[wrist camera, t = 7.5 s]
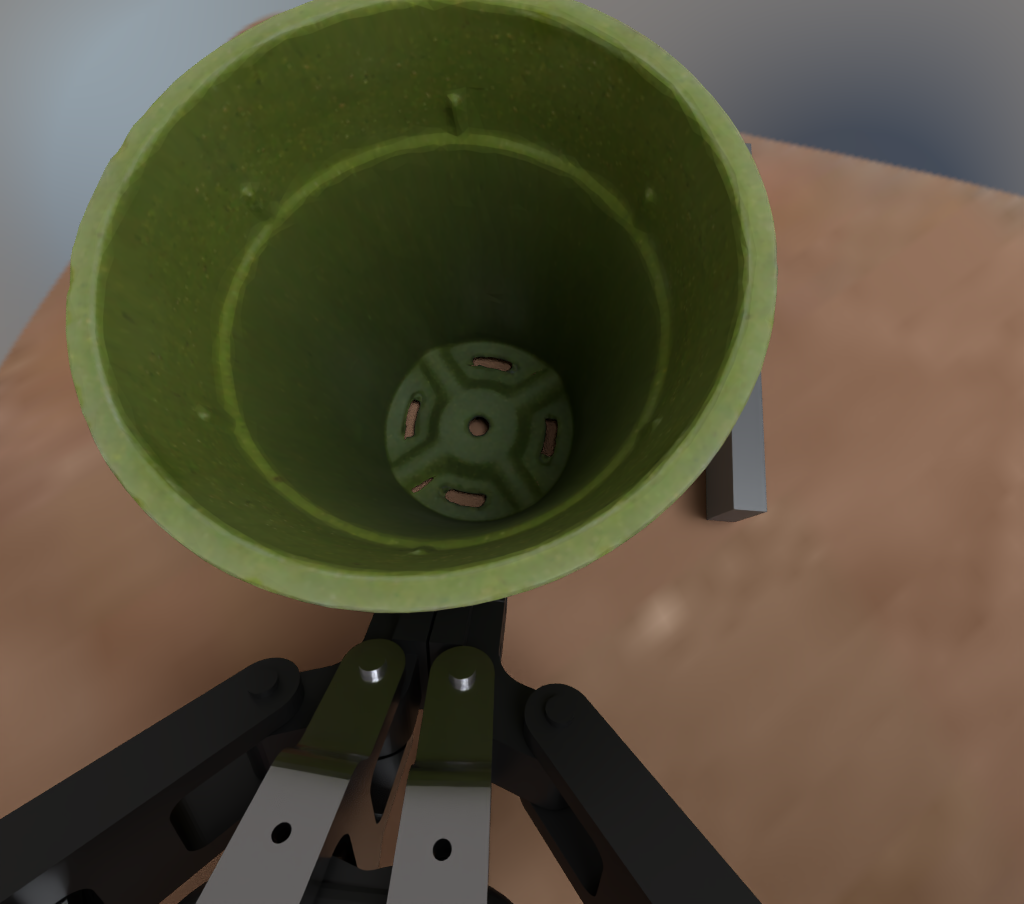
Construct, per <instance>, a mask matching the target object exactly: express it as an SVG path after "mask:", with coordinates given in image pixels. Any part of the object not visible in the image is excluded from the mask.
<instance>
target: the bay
mask: <svg viewBox="0 0 1024 904" xmlns="http://www.w3.org/2000/svg"><path fill="white" fill-rule="evenodd" d="M745 144H746V146H747V148H748V150H749V152H750V154H751V144H747V143H745ZM706 504H707V520H717V521H730V522H737V521H740V520H743V519H746V518H749V517H752V516H755V515H758V514H761V513H765V512H767V501H766V478H765V455H764V432H763V409H762V386H761V372H760V374H759V376H758V379H757V381H756V383H755V386H754V388H753V390H752V393H751V395H750V397H749V399H748V401H747V403H746V405H745V407H744V409H743V411H742V412H741V414H740V416H739V418H738V420H737V422H736V424H735V425H734V427H733V429H732V431H731V432H730V434H729V435H728V437H727V439H726V440H725V442H724V444H723V445H722V447H721V448H720V449H719V451H718V452H717V453H716V455H715V456H714V458H713V459H712V460H711V462H710V463H709V465H708V466H707V467H706Z"/></svg>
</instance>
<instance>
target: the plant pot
mask: <svg viewBox="0 0 1024 904" xmlns="http://www.w3.org/2000/svg"><path fill="white" fill-rule="evenodd" d="M777 276H778V267H777V248H776V236H775V229H774V221H773V217H772V213H771V209H770V205H769V201H768V197H767V193H766V190H765V187H764V184H763V182H762V179H761V177H760V174H759V172H758V169H757V166H756V164H755V162H754V160H753V158H752V156H751V154H750V152H749V150H748V148H747V146H746V144H745V142H744V141H743V139H742V137H741V135H740V133H739V131H738V130H737V128H736V127H735V125H734V124H733V122H732V121H731V119H730V118H729V116H728V115H727V114H726V112H724V110H723V109H722V108H721V106H720V105H719V104H718V103H717V101H716V100H715V99H714V97H713V96H712V95H711V94H710V93H709V92H708V91H707V90H706V89H705V88H704V87H703V85H702V84H701V83H700V82H699V81H698V80H697V79H696V78H695V77H694V76H693V75H692V74H691V73H690V72H689V71H688V70H687V69H686V68H685V67H684V66H683V65H682V64H681V63H679V62H678V61H677V60H676V59H675V58H673V57H672V56H671V55H670V54H669V53H667V52H666V51H665V50H664V49H662V48H661V47H660V46H658V45H657V44H656V43H654V42H653V41H651V40H650V39H648V38H647V37H646V36H644V35H642V34H641V33H639V32H637V31H636V30H634V29H633V28H631V27H629V26H628V25H626V24H624V23H622V22H620V21H618V20H616V19H615V18H613V17H610V16H608V15H606V14H604V13H602V12H600V11H598V10H596V9H593V8H590V7H588V6H586V5H585V4H582V3H580V2H577V1H574V0H313V1H310V2H307V3H305V4H303V5H300V6H298V7H295V8H293V9H290V10H288V11H285V12H283V13H280V14H278V15H275V16H273V17H271V18H269V19H268V20H266V21H264V22H262V23H260V24H258V25H256V26H254V27H253V28H251V29H249V30H247V31H245V32H243V33H242V34H240V35H238V36H237V37H235V38H233V39H232V40H230V41H228V42H227V43H225V44H223V45H222V46H220V47H219V48H217V49H216V50H215V51H213V52H212V53H210V54H209V55H208V56H206V57H205V58H203V59H202V60H201V61H199V62H198V63H197V64H195V65H194V66H193V67H192V68H191V69H189V70H188V71H187V72H185V73H184V74H183V75H182V76H181V77H179V78H178V79H177V80H176V81H175V82H174V83H173V84H172V85H171V86H170V87H169V88H168V89H167V90H166V91H165V92H164V93H163V94H162V95H161V96H160V97H159V98H158V99H157V100H156V101H155V102H154V103H153V105H152V106H151V107H150V108H149V109H148V110H147V112H146V113H145V114H144V115H143V116H142V117H141V118H140V119H139V121H137V123H135V125H133V127H132V129H131V130H130V132H129V134H128V135H127V137H126V139H125V141H124V143H123V145H122V146H121V148H120V149H119V151H118V152H117V153H116V154H115V155H114V156H113V157H112V159H111V160H110V162H109V163H108V165H107V167H106V168H105V170H104V172H103V175H102V177H101V179H100V181H99V183H98V185H97V187H96V189H95V191H94V194H93V196H92V198H91V200H90V202H89V204H88V207H87V209H86V211H85V214H84V216H83V218H82V221H81V223H80V226H79V229H78V233H77V236H76V240H75V243H74V246H73V249H72V255H71V266H70V288H69V291H68V294H67V303H66V338H67V348H68V356H69V363H70V369H71V374H72V378H73V382H74V386H75V389H76V393H77V396H78V399H79V402H80V406H81V409H82V413H83V415H84V417H85V419H86V422H87V424H88V427H89V429H90V432H91V434H92V437H93V439H94V441H95V443H96V445H97V447H98V449H99V451H100V452H101V454H102V456H103V458H104V460H105V461H106V463H107V465H108V466H109V468H110V470H111V471H112V472H113V474H114V475H115V476H116V478H117V479H118V480H119V482H120V483H121V484H122V486H123V487H124V488H125V489H126V491H127V492H128V493H129V494H130V495H131V496H132V498H133V499H134V500H135V501H136V502H137V503H138V505H139V506H140V507H141V508H142V509H143V510H144V511H145V512H146V513H147V514H148V515H149V516H150V517H151V518H152V519H153V520H154V521H155V522H156V523H157V524H158V525H159V526H160V527H162V528H163V529H164V530H165V531H166V532H167V533H168V534H170V535H171V536H172V537H173V538H174V539H176V540H177V541H178V542H179V543H181V544H182V545H184V546H185V547H186V548H188V549H189V550H191V551H192V552H193V553H195V554H196V555H197V556H199V557H200V558H202V559H203V560H204V561H206V562H208V563H210V564H211V565H213V566H215V567H217V568H218V569H220V570H222V571H224V572H225V573H227V574H229V575H231V576H233V577H236V578H238V579H240V580H243V581H245V582H247V583H250V584H252V585H254V586H257V587H259V588H262V589H264V590H267V591H269V592H272V593H276V594H279V595H283V596H286V597H289V598H292V599H296V600H299V601H302V602H306V603H311V604H315V605H320V606H324V607H329V608H337V609H346V610H355V611H363V612H373V613H410V612H426V611H437V610H444V609H451V608H457V607H464V606H472V605H476V604H480V603H485V602H489V601H494V600H498V599H502V598H505V597H509V596H512V595H515V594H519V593H522V592H526V591H529V590H532V589H534V588H537V587H540V586H542V585H545V584H548V583H550V582H553V581H556V580H558V579H560V578H562V577H564V576H567V575H569V574H571V573H573V572H575V571H577V570H579V569H581V568H583V567H585V566H587V565H589V564H590V563H592V562H594V561H595V560H597V559H599V558H600V557H602V556H604V555H606V554H607V553H609V552H611V551H612V550H614V549H615V548H617V547H618V546H620V545H621V544H623V543H624V542H626V541H627V540H629V539H630V538H631V537H633V536H634V535H636V534H637V533H638V532H640V531H641V530H642V529H644V528H645V527H646V526H647V525H649V524H650V523H651V522H652V521H654V520H655V519H656V518H657V517H658V516H660V515H661V514H662V513H663V512H664V511H665V510H666V509H668V508H669V507H670V506H671V505H672V504H673V503H674V502H675V501H676V500H677V499H678V498H679V497H680V496H681V495H682V494H683V493H684V492H685V491H686V490H687V489H688V488H689V487H690V486H691V485H692V483H693V482H694V481H695V480H696V479H697V478H698V477H699V475H700V474H701V473H702V472H703V471H704V470H705V468H706V467H707V466H708V465H709V463H710V462H711V460H712V459H713V458H714V456H715V455H716V453H717V452H718V451H719V449H720V448H721V447H722V445H723V444H724V442H725V440H726V439H727V437H728V435H729V434H730V432H731V431H732V429H733V427H734V425H735V424H736V422H737V420H738V418H739V416H740V414H741V412H742V411H743V409H744V407H745V405H746V403H747V401H748V399H749V397H750V395H751V393H752V390H753V388H754V386H755V383H756V381H757V379H758V376H759V374H760V372H761V369H762V366H763V362H764V359H765V355H766V352H767V348H768V344H769V341H770V337H771V332H772V327H773V322H774V312H775V303H776V291H777ZM475 357H493V358H498V359H502V360H504V361H509V362H511V363H512V368H511V369H510V370H509V371H501V370H499V369H493V368H487V367H484V366H481V365H478V366H468V365H474V363H473V359H474V358H475ZM535 372H536V374H533V373H535ZM532 374H533V375H532ZM413 400H418V401H419V402H420V408H419V410H418V413H417V418H416V422H415V430H414V435H413V436H412V437H406V439H405V440H404V435H405V430H406V417H407V413H408V409H409V407H410V404H411V402H412V401H413ZM476 417H482V418H484V419H486V420H487V422H488V423H489V430H488V431H487V432H486V433H485V434H483V435H481V436H475V435H473V434H472V433H471V432H470V430H469V423H470V421H471V420H473V419H474V418H476ZM546 418H549V419H556V420H557V424H558V432H557V436H556V446H555V449H554V454H553V455H552V456H551V457H548V456H546V455H544V454H543V453H542V454H541V451H542V448H543V445H544V440H545V434H546V423H545V419H546ZM434 476H436V477H434ZM431 477H433V478H434V479H433V480H432V481H431V482H429V483H428V485H426V486H425V487H423V488H422V489H421V490H419V491H418V492H415V493H413V492H412V488H415V487H416V486H418V485H419V484H422V482H424V481H426V480H428V479H429V478H431ZM535 479H536V480H535ZM537 481H538V483H537ZM538 484H539V485H538ZM450 489H454V490H458V491H462V492H465V493H472V494H484V495H485V496H486V501H485V503H484V504H483V505H482V506H480V507H470V506H461V505H458V504H456V503H453V502H450V501H449V500H447V499H446V498H445V494H446V493H447V491H449V490H450Z"/></svg>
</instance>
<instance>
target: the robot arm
mask: <svg viewBox="0 0 1024 904" xmlns="http://www.w3.org/2000/svg"><path fill="white" fill-rule="evenodd" d="M506 612H507V597H505V598H502V599H498V600H494V601H489V602H485V603H480V604H476V605H472V606H464V607H457V608H451V609H444V610H437V611H426V612H410V613H374V615H373V618H372V620H371V623H370V625H369V628H368V630H367V633H366V635H365V638H364V640H363V642H362V643H360V644H358V645H356V646H355V647H353V648H352V649H351V650H350V651H349V652H348V653H347V654H346V655H345V656H344V658H343V660H342V661H341V662H339V663H337V664H335V665H332V666H328V667H324V668H319V669H314V670H309V671H304V672H299V670H298V668H297V666H296V665H295V664H294V663H293V662H291V661H289V660H287V659H284V658H269V659H264V660H261V661H258V662H256V663H254V664H252V665H250V666H248V667H247V668H245V669H244V670H242V671H240V672H239V673H237V674H235V675H234V676H232V677H231V678H229V679H227V680H226V681H224V682H222V683H221V684H219V685H218V686H216V687H214V688H213V689H211V690H209V691H208V692H206V693H205V694H203V695H201V696H200V697H198V698H196V699H195V700H193V701H192V702H190V703H188V704H187V705H185V706H183V707H182V708H180V709H179V710H177V711H175V712H174V713H172V714H170V715H169V716H167V717H166V718H164V719H162V720H161V721H159V722H157V723H156V724H154V725H153V726H151V727H149V728H148V729H146V730H144V731H143V732H141V733H140V734H138V735H136V736H135V737H133V738H131V739H130V740H128V741H127V742H125V743H123V744H122V745H120V746H118V747H117V748H115V749H114V750H112V751H110V752H109V753H107V754H106V755H104V756H102V757H101V758H99V759H97V760H96V761H94V762H93V763H91V764H89V765H88V766H86V767H84V768H83V769H81V770H80V771H78V772H76V773H75V774H73V775H71V776H70V777H68V778H67V779H65V780H63V781H62V782H60V783H58V784H57V785H55V786H54V787H52V788H50V789H49V790H47V791H45V792H44V793H42V794H41V795H39V796H37V797H36V798H34V799H32V800H31V801H29V802H28V803H26V804H24V805H23V806H21V807H19V808H18V809H16V810H15V811H13V812H11V813H10V814H8V815H6V816H5V817H3V818H2V819H0V904H159V903H160V902H161V901H163V900H164V899H165V898H166V897H167V896H169V895H170V894H171V893H172V892H173V891H175V890H176V889H177V888H178V887H180V886H181V885H182V884H183V883H184V882H186V881H187V880H188V879H189V878H190V877H192V876H193V875H194V874H195V873H197V872H198V871H199V870H200V869H201V868H203V867H204V866H205V865H206V864H207V863H209V862H210V861H211V860H212V859H214V858H215V857H216V856H217V855H218V854H220V853H221V852H222V851H223V850H225V851H224V853H223V855H222V856H221V858H220V860H219V862H218V864H217V866H216V867H215V869H214V871H213V873H212V875H211V877H210V878H209V880H208V881H207V882H205V883H204V884H202V885H201V886H199V887H198V888H197V889H195V890H194V891H193V892H191V893H190V894H189V895H187V896H186V897H185V898H184V899H183V900H181V901H180V902H179V903H178V904H513V903H512V902H511V901H510V900H509V899H508V898H506V897H505V896H504V895H503V894H501V893H500V892H498V891H497V890H495V889H494V888H492V887H490V886H488V881H489V848H490V816H491V785H492V783H494V784H496V785H498V786H500V787H502V788H504V789H506V790H508V791H510V792H512V793H514V794H516V795H518V796H520V799H521V802H522V804H523V806H524V808H525V810H526V811H527V813H528V815H529V816H530V818H531V819H532V821H533V823H534V824H535V826H536V827H537V829H538V831H539V832H540V834H541V836H542V837H543V839H544V840H545V842H546V844H547V845H548V847H549V848H550V850H551V852H552V853H553V855H554V857H555V858H556V860H557V861H558V863H559V865H560V866H561V868H562V869H563V871H564V873H565V874H566V876H567V878H568V879H569V881H570V882H571V884H572V886H573V887H574V889H575V890H576V892H577V894H578V895H579V897H580V899H581V900H582V902H583V903H584V904H761V902H760V901H759V900H758V899H757V898H756V896H755V895H754V894H753V893H752V892H751V891H750V889H749V888H748V887H747V886H746V885H745V884H744V882H743V881H742V880H741V879H740V878H739V877H738V875H737V874H736V873H735V872H734V871H733V870H732V868H731V867H730V866H729V865H728V864H727V863H726V861H725V860H724V859H723V858H722V857H721V855H720V854H719V853H718V852H717V851H716V850H715V848H714V847H713V846H712V845H711V844H710V843H709V841H708V840H707V839H706V838H705V837H704V836H703V834H702V833H701V832H700V831H699V830H698V829H697V827H696V826H695V825H694V824H693V823H692V821H691V820H690V819H689V818H688V817H687V816H686V814H685V813H684V812H683V811H682V810H681V809H680V807H679V806H678V805H677V804H676V803H675V802H674V800H673V799H672V798H671V797H670V796H669V795H668V793H667V792H666V791H665V790H664V789H663V787H662V786H661V785H660V784H659V783H658V782H657V780H656V779H655V778H654V777H653V776H652V775H651V773H650V772H649V771H648V770H647V769H646V768H645V766H644V765H643V764H642V763H641V762H640V761H639V759H638V758H637V757H636V756H635V755H634V753H633V752H632V751H631V750H630V749H629V748H628V746H627V745H626V744H625V743H624V742H623V741H622V739H621V738H620V737H619V736H618V735H617V734H616V732H615V731H614V730H613V729H612V728H611V727H610V725H609V724H608V723H607V722H606V721H605V720H604V718H603V717H602V716H601V715H600V714H599V712H598V711H597V710H596V709H595V708H594V707H593V705H592V704H591V703H590V702H589V701H588V700H587V698H586V697H585V696H584V695H583V694H582V693H581V692H579V691H578V690H576V689H574V688H573V687H570V686H568V685H564V684H548V685H544V686H542V687H540V688H538V689H537V690H535V689H532V688H530V687H527V686H525V685H523V684H521V683H519V682H517V681H515V680H514V679H512V678H511V677H510V676H509V675H508V674H507V673H506V671H505V670H504V669H503V667H502V665H501V658H502V649H503V640H504V630H505V621H506ZM419 709H424V711H423V718H422V724H421V730H420V736H419V743H418V749H417V755H416V760H415V763H414V765H411V768H410V771H409V775H408V779H407V785H406V791H405V797H404V803H403V809H402V815H401V820H400V826H399V832H398V838H397V844H396V850H395V856H394V862H393V866H389V867H384V868H380V869H378V867H379V862H380V856H381V847H382V840H383V835H384V831H385V827H386V824H387V821H388V817H389V814H390V811H391V808H392V805H393V802H394V799H395V796H396V793H397V790H398V787H399V783H400V780H401V777H402V774H403V771H404V768H405V765H406V762H407V759H408V756H409V753H410V749H411V746H412V743H413V730H414V726H415V722H416V718H417V714H418V710H419Z"/></svg>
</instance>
